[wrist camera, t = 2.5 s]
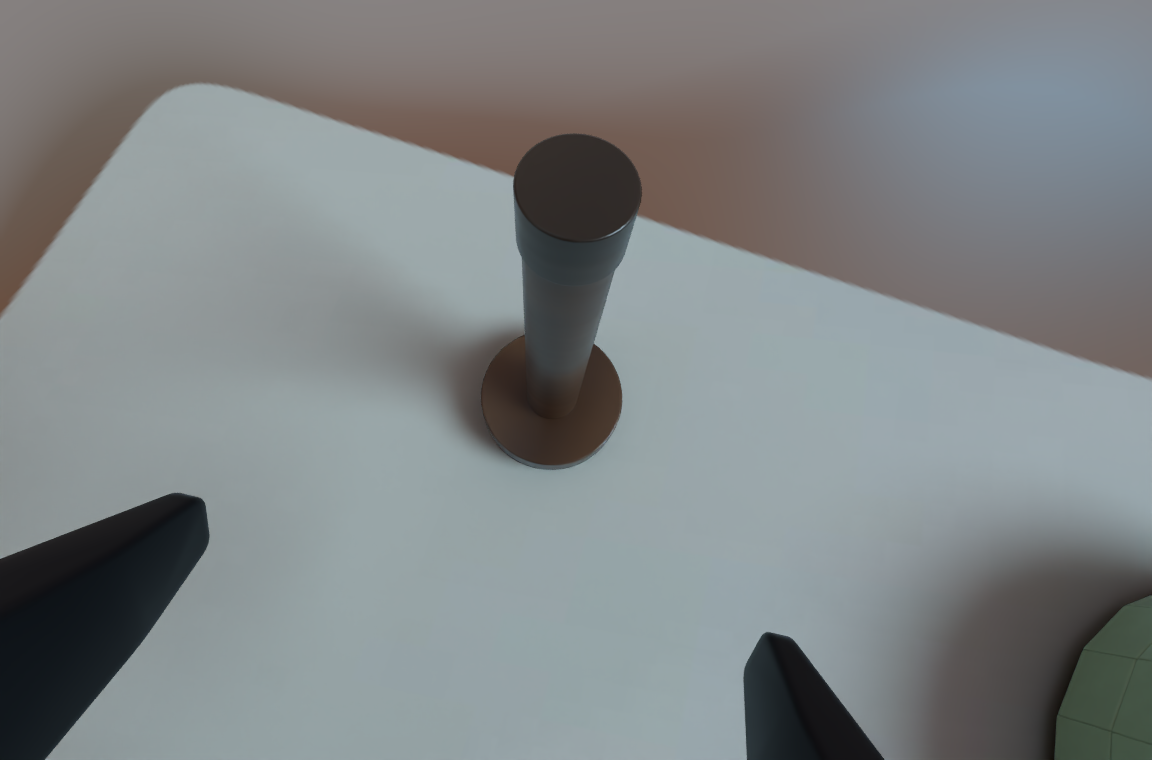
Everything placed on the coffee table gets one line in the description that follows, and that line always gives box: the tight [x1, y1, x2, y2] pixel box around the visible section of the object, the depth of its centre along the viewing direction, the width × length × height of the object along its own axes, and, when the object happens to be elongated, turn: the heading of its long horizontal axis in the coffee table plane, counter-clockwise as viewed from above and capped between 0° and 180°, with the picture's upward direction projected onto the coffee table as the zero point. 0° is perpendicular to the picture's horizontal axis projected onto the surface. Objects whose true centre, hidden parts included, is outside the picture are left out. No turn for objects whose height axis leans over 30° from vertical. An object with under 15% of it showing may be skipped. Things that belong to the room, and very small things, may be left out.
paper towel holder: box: [481, 134, 642, 470], centre depth 16 cm, size 6×6×14 cm
